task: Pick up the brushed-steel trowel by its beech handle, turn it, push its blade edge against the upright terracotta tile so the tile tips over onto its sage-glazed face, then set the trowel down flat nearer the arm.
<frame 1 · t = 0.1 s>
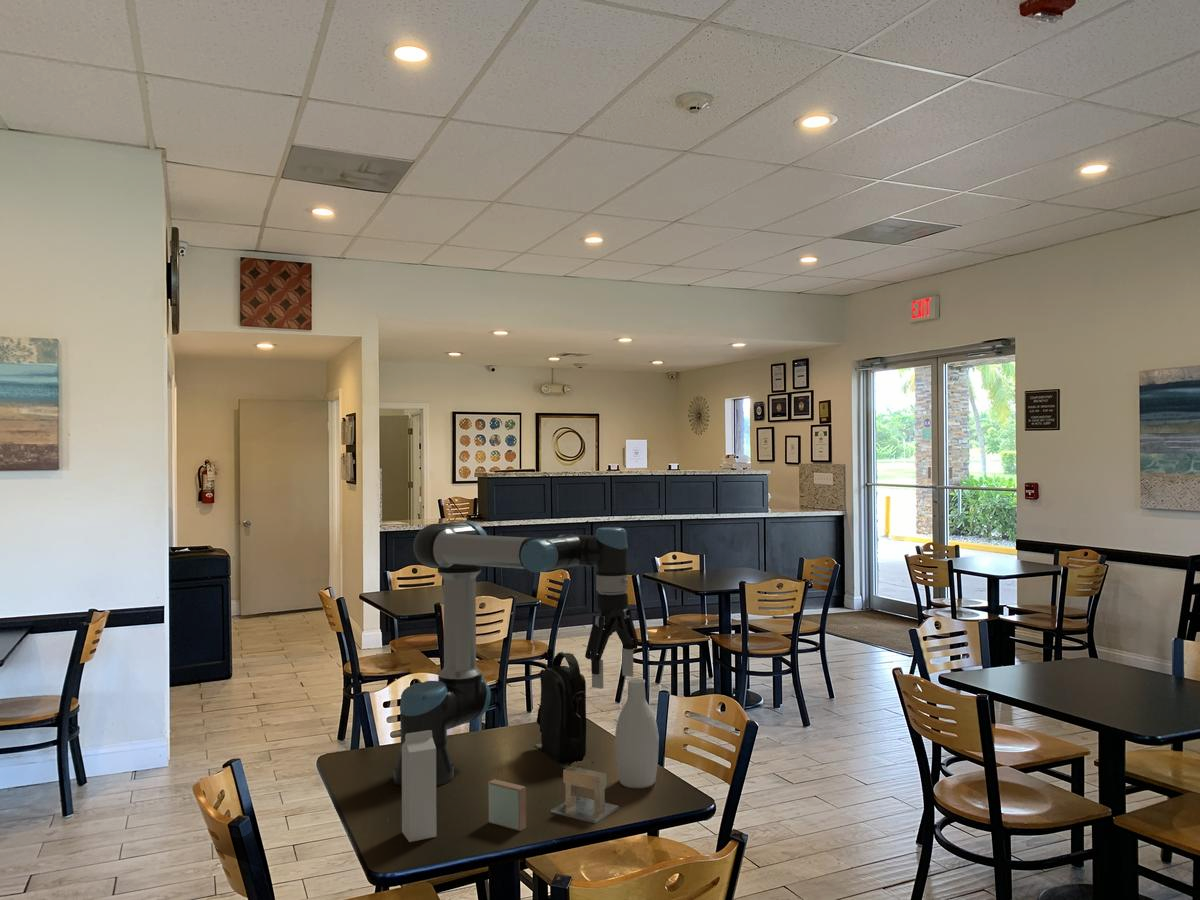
hand: (613, 681, 208), 28 cm above the table, tool pointing down, fingers open, 13 cm apart
shoulder bag: (564, 755, 241), on the table
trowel: (585, 811, 201), on the table
bottle: (637, 783, 219), on the table
milk: (419, 835, 188), on the table
tile: (507, 825, 193), on the table
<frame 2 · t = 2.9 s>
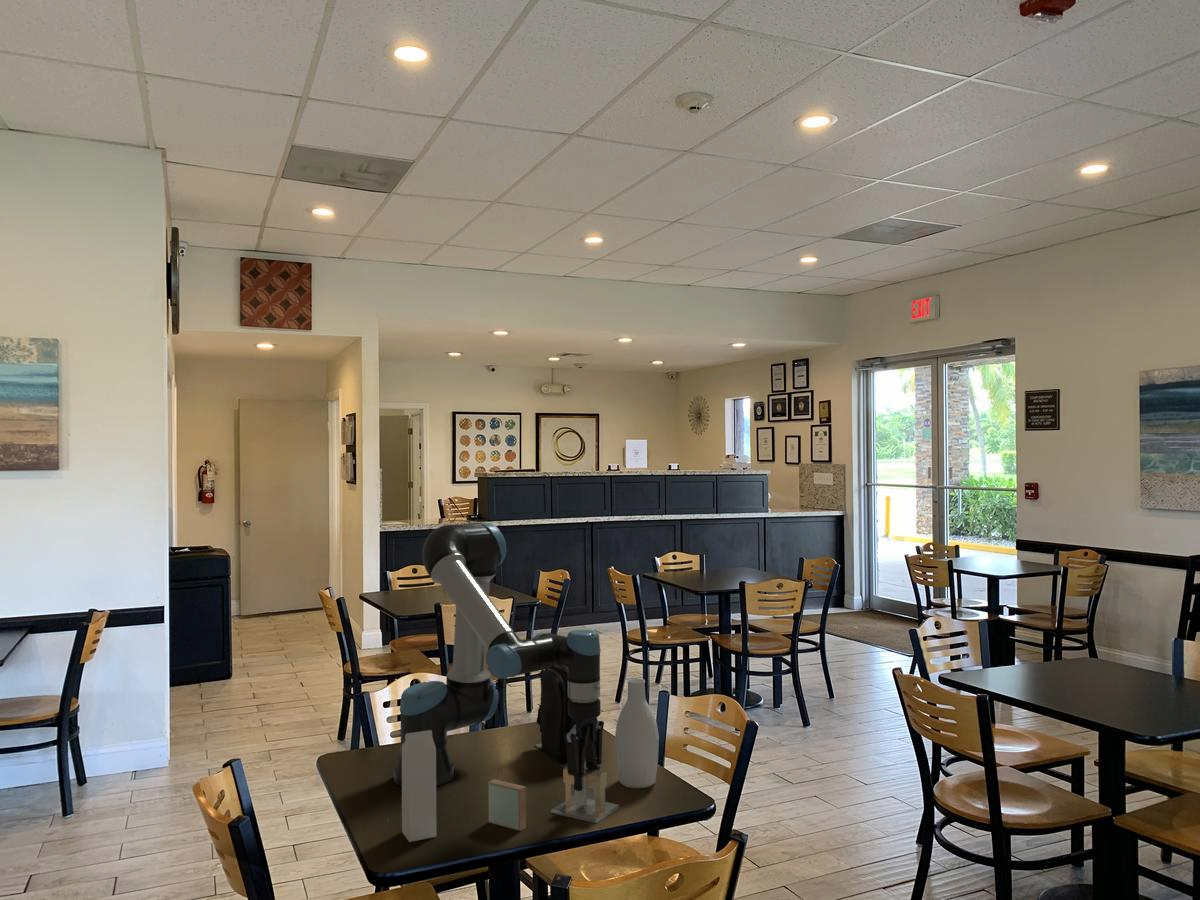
hand: (585, 800, 201), 2 cm above the table, tool pointing down, fingers closed on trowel, 3 cm apart
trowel: (585, 810, 201), on the table, touching gripper
everything else where it was.
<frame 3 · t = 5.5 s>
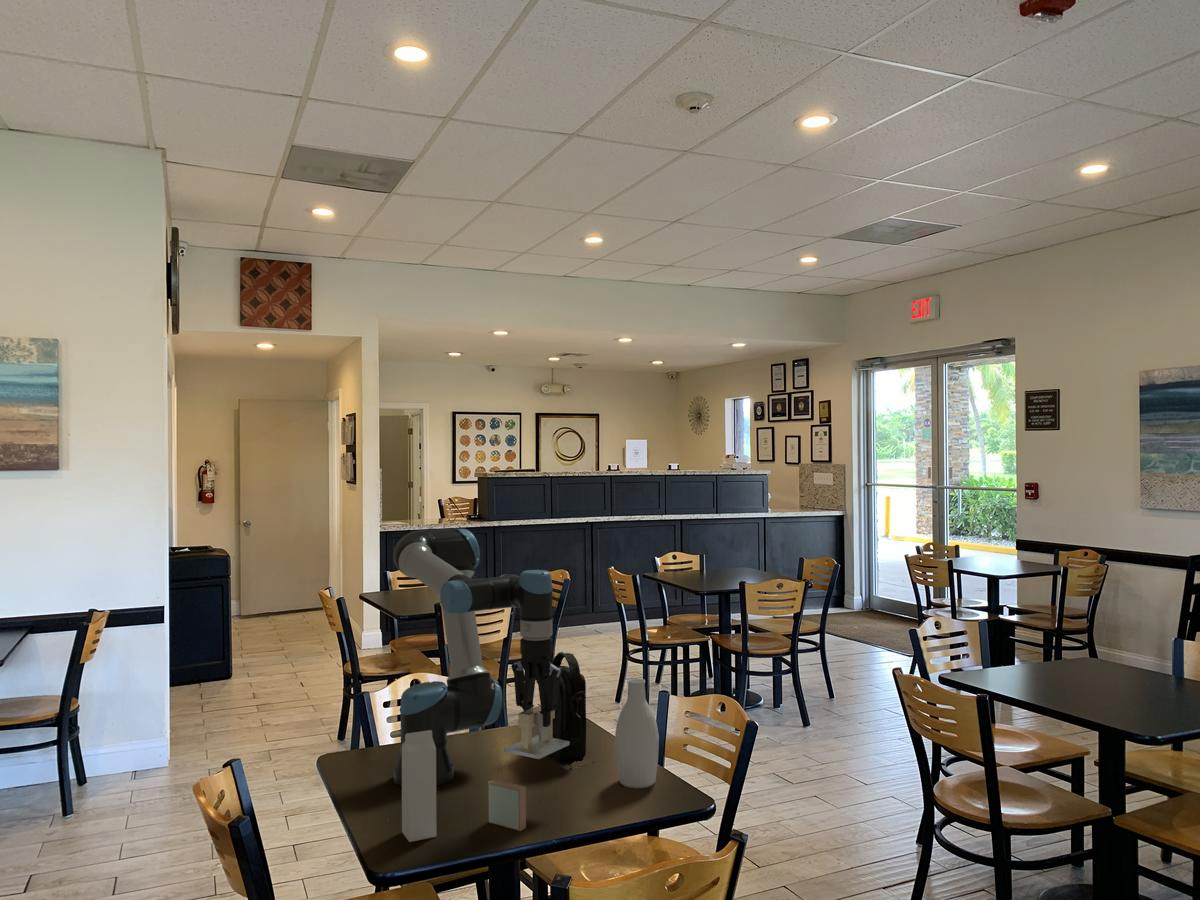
hand: (537, 738, 203), 16 cm above the table, tool pointing down, fingers closed on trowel, 3 cm apart
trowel: (537, 748, 203), point 14 cm above the table, touching gripper
everything else where it was.
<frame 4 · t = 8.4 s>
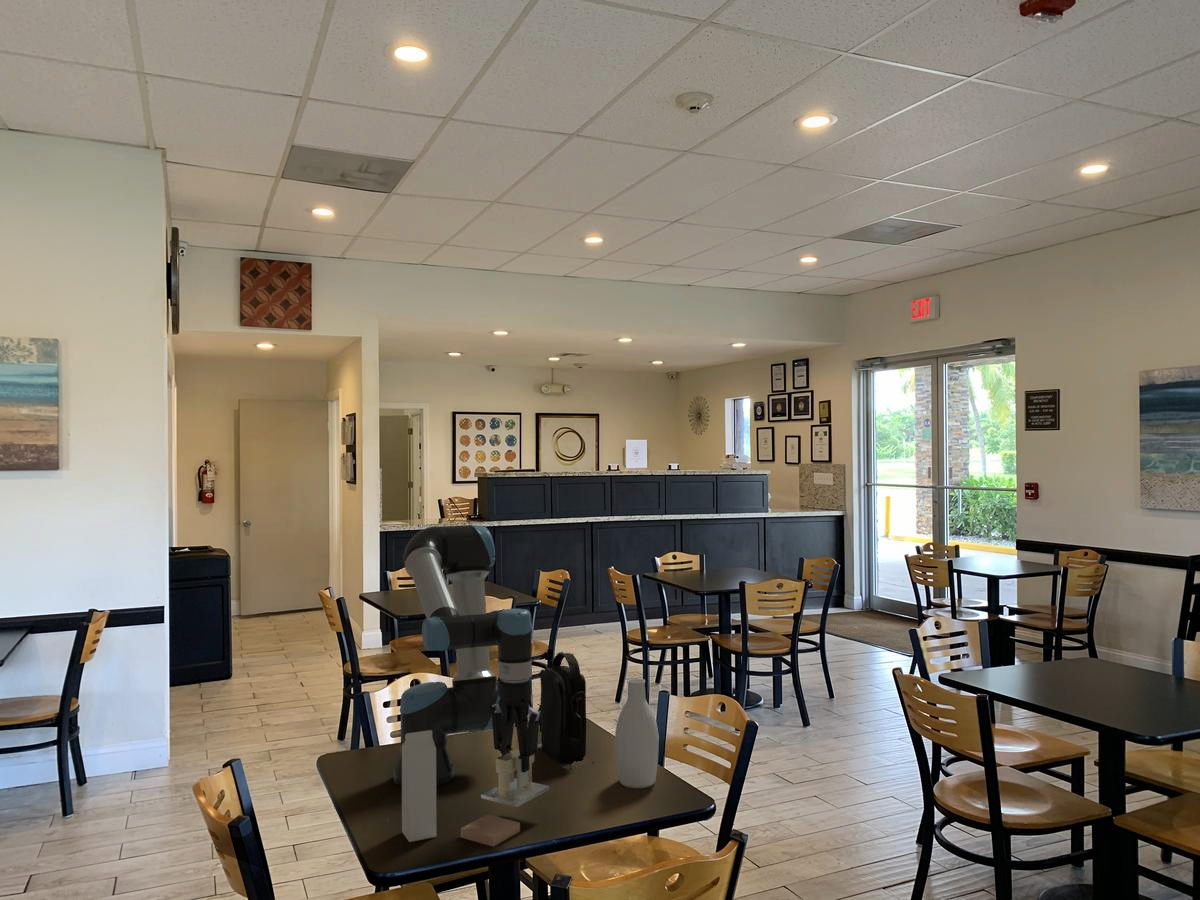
hand: (515, 784, 196), 8 cm above the table, tool pointing down, fingers closed on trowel, 3 cm apart
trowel: (515, 793, 196), point 6 cm above the table, touching gripper
tile: (503, 822, 192), point 1 cm above the table, tilted 90°
everything else where it was.
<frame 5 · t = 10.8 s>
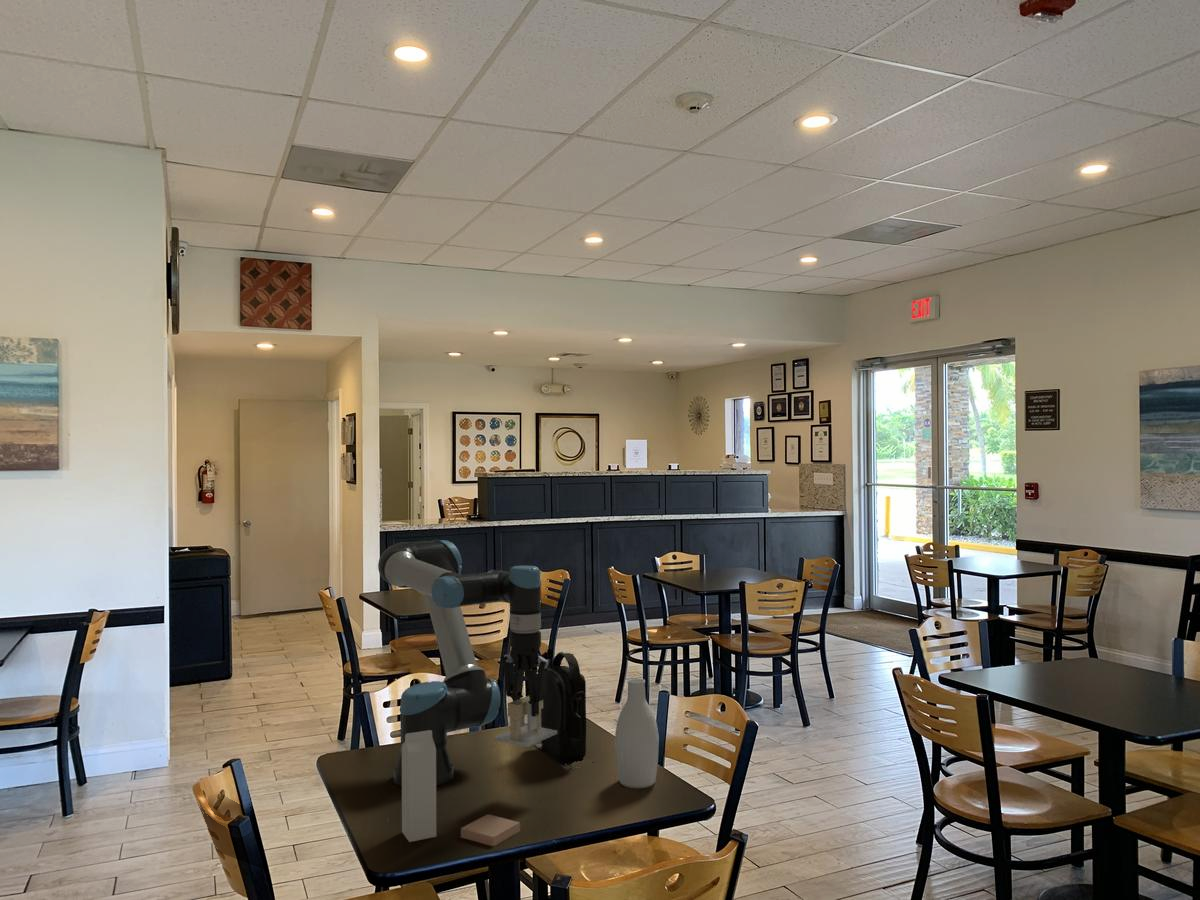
hand: (526, 727, 211), 16 cm above the table, tool pointing down, fingers closed on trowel, 3 cm apart
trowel: (526, 736, 211), point 14 cm above the table, touching gripper
everything else where it was.
when the fingers open (4 cm above the table, at t = 13.2 s): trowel drops 2 cm, on the table.
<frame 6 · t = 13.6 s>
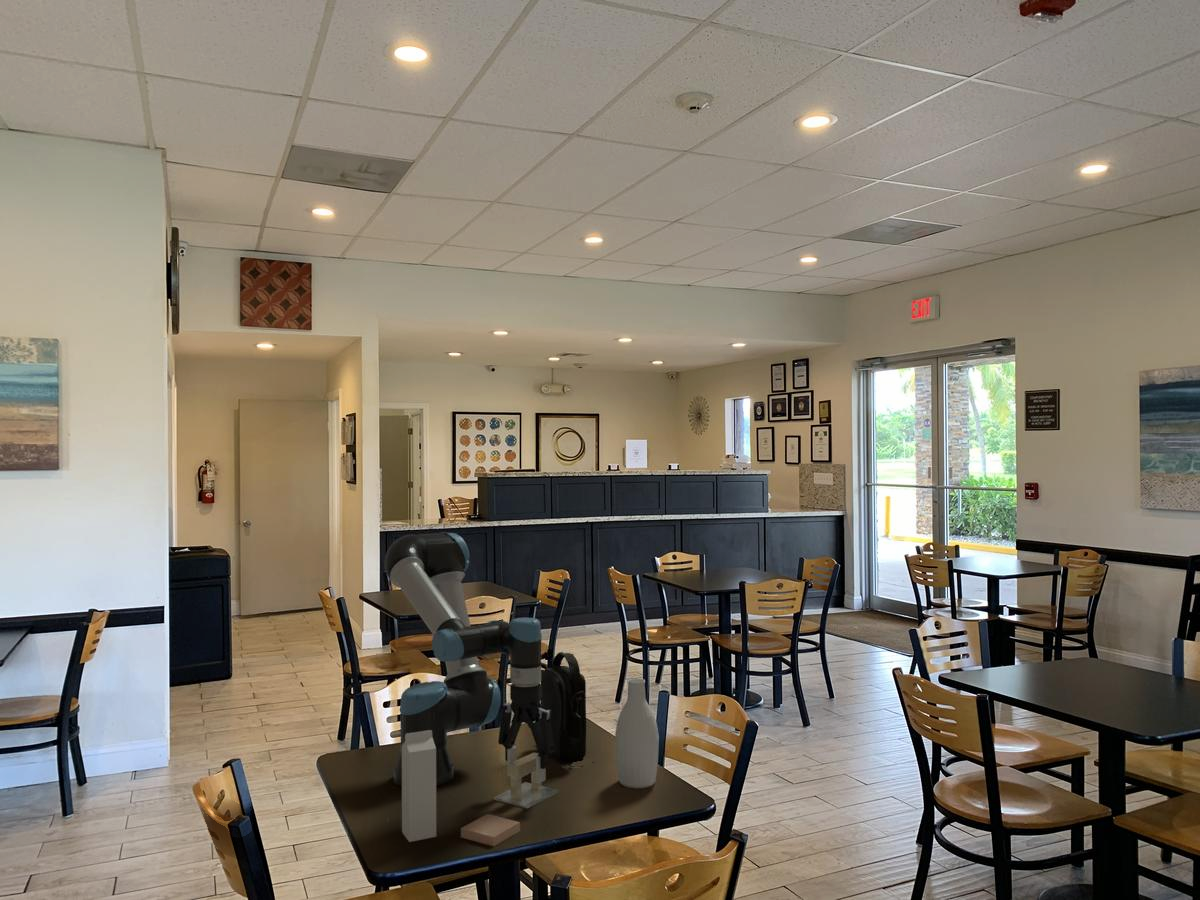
hand: (526, 778, 210), 4 cm above the table, tool pointing down, fingers open, 8 cm apart
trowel: (526, 796, 210), on the table
everything else where it was.
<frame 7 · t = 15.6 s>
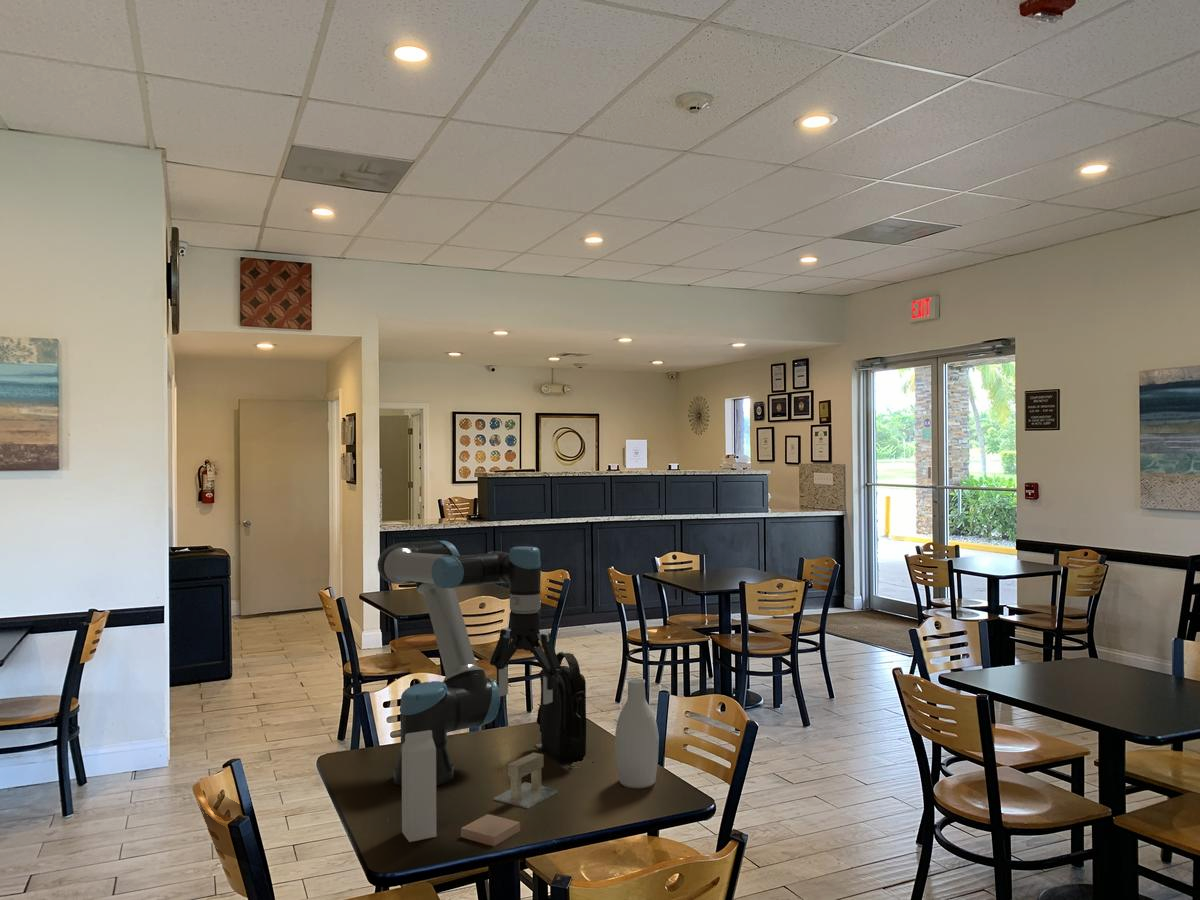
hand: (525, 699, 211), 23 cm above the table, tool pointing down, fingers open, 13 cm apart
nothing on the table moved.
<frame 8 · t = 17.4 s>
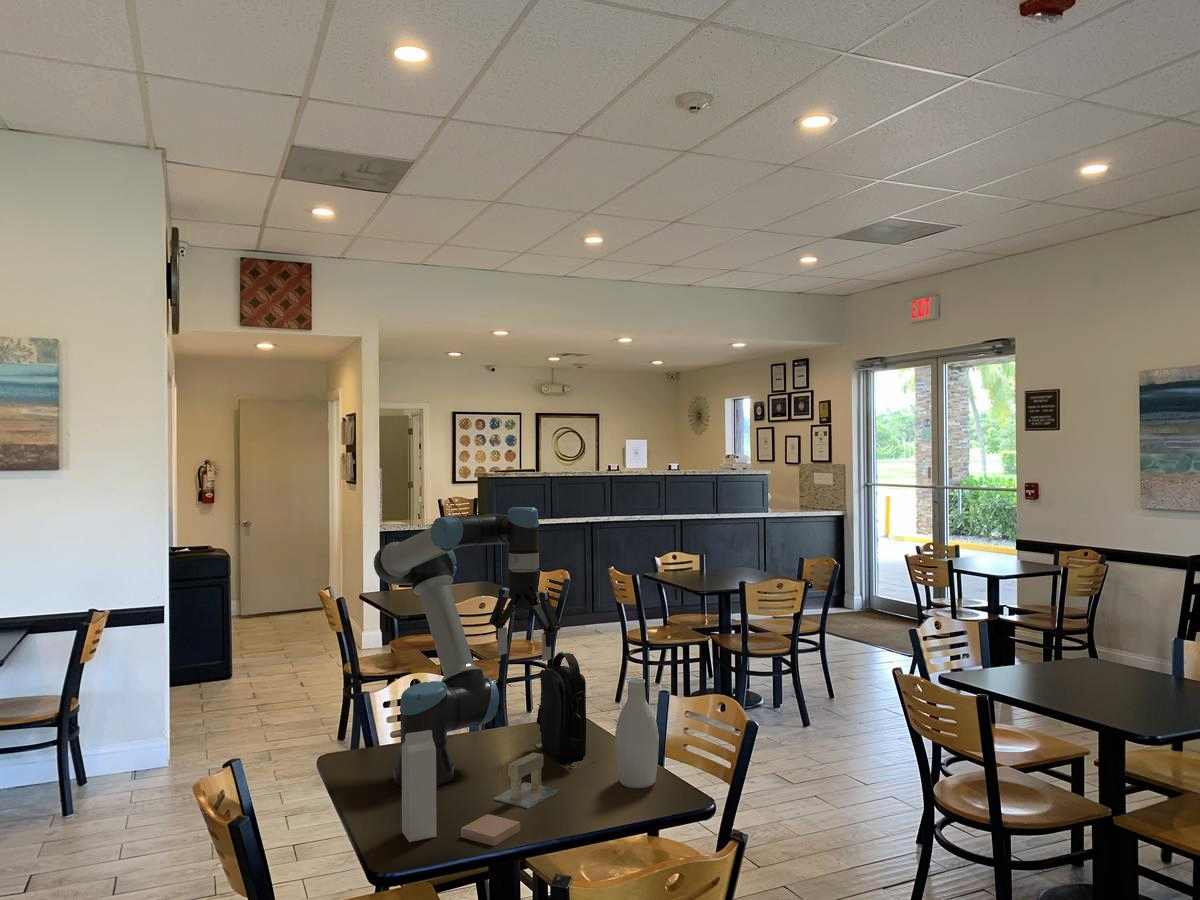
hand: (524, 657, 214), 33 cm above the table, tool pointing down, fingers open, 13 cm apart
nothing on the table moved.
at the end: tile tilted 90°; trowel inside the target area (0.0 cm from its centre), on the table; the gripper is holding nothing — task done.
